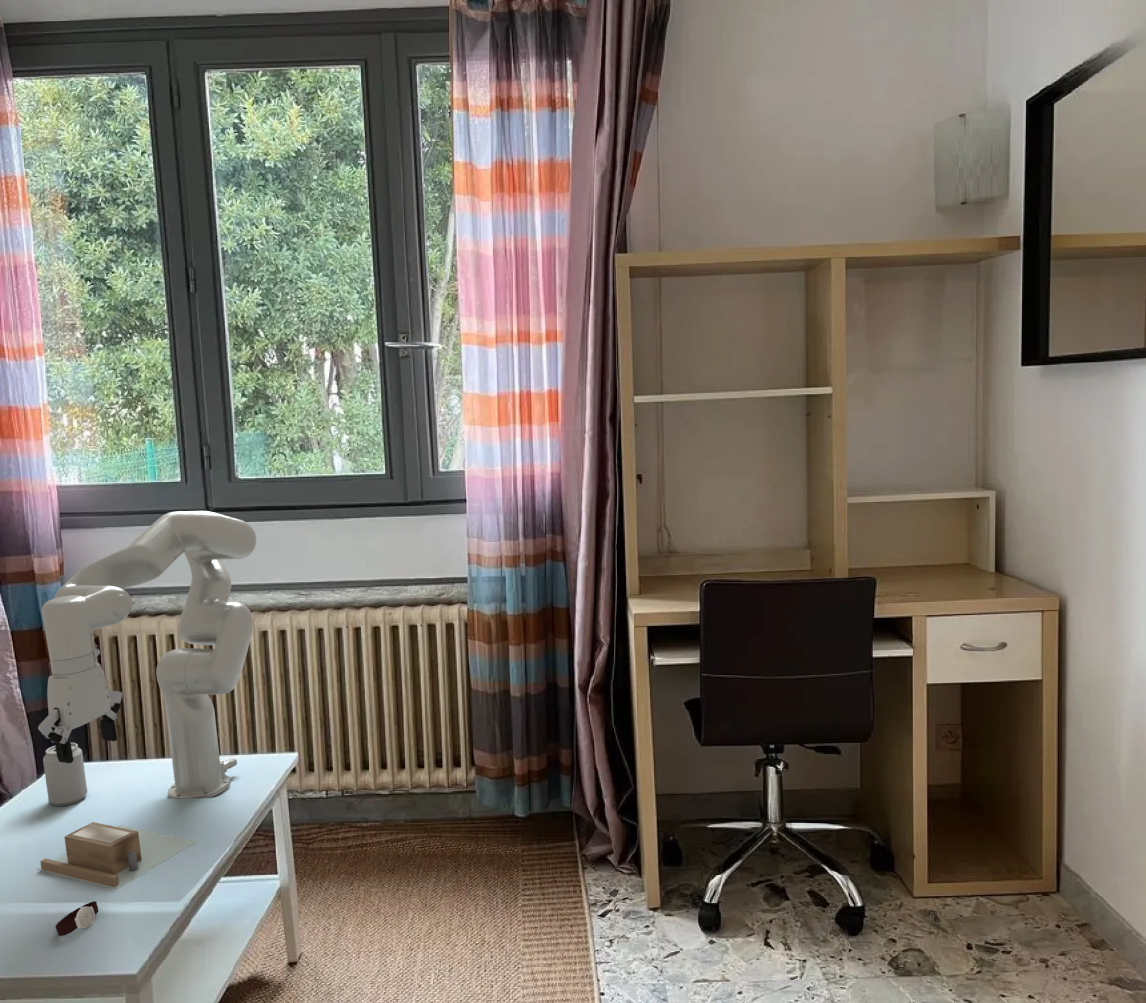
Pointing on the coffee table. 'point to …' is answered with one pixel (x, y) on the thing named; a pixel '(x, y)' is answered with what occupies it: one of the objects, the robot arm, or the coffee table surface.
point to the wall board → (152, 854)
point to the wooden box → (102, 847)
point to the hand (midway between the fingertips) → (88, 750)
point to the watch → (77, 919)
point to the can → (65, 777)
